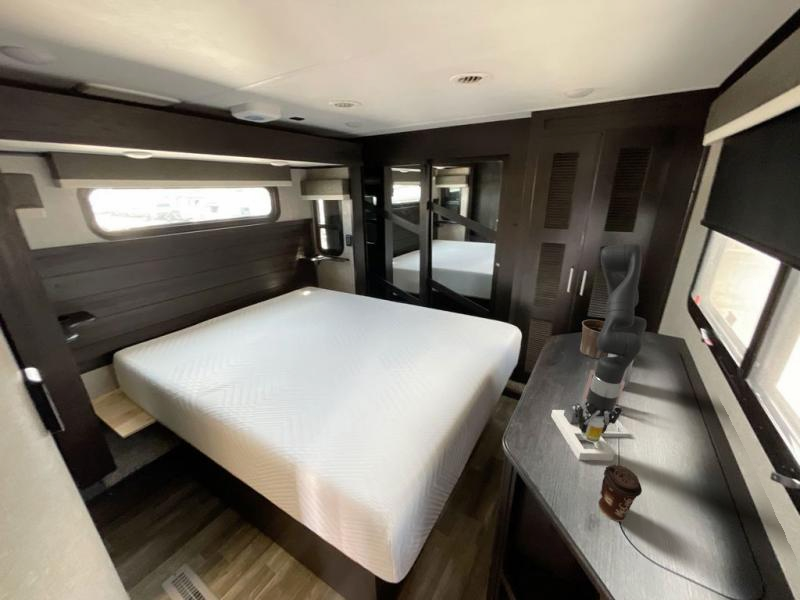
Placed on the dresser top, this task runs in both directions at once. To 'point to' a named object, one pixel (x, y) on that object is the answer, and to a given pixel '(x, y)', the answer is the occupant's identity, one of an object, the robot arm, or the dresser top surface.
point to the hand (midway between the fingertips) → (591, 431)
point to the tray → (617, 434)
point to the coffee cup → (618, 491)
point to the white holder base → (579, 436)
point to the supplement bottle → (594, 429)
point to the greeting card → (590, 384)
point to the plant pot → (591, 338)
